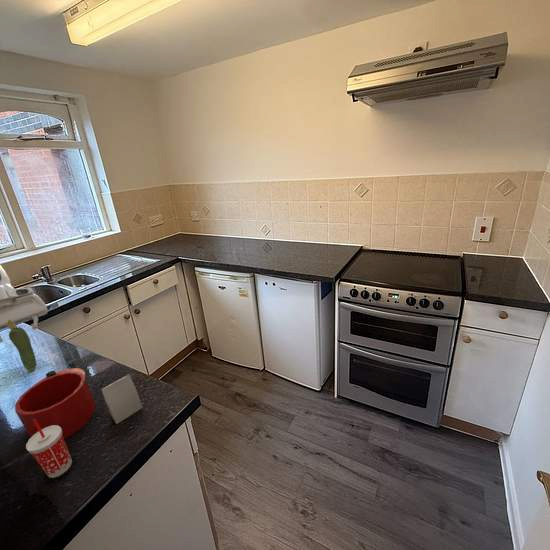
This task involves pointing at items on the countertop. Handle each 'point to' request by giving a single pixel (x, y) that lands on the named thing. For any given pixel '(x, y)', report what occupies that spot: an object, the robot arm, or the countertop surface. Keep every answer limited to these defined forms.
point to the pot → (57, 404)
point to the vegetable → (22, 346)
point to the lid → (63, 372)
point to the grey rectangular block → (122, 399)
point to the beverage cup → (50, 450)
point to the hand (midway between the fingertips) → (18, 335)
